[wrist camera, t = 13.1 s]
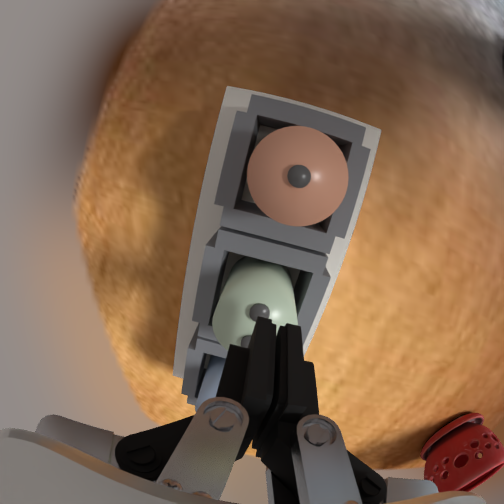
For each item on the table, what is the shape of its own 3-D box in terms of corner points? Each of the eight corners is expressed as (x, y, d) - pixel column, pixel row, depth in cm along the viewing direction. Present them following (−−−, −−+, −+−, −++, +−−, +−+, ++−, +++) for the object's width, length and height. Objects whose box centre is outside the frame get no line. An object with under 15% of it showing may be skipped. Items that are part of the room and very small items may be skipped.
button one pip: (264, 130, 14) (260, 113, 9) (332, 149, 14) (360, 143, 9) (247, 197, 16) (235, 212, 11) (314, 215, 16) (333, 238, 11)
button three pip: (214, 337, 19) (198, 388, 14) (269, 350, 19) (267, 404, 14) (206, 374, 20) (191, 424, 15) (255, 386, 20) (250, 437, 15)
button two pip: (235, 245, 17) (220, 281, 12) (299, 262, 17) (310, 303, 12) (222, 302, 18) (205, 351, 13) (281, 316, 18) (283, 369, 13)
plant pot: (416, 432, 26) (439, 498, 14) (489, 392, 24) (522, 445, 12) (409, 464, 29) (423, 516, 18) (471, 433, 27) (493, 479, 16)
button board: (230, 91, 16) (216, 68, 11) (373, 132, 16) (405, 123, 11) (177, 364, 23) (160, 402, 19) (281, 389, 23) (281, 431, 19)
